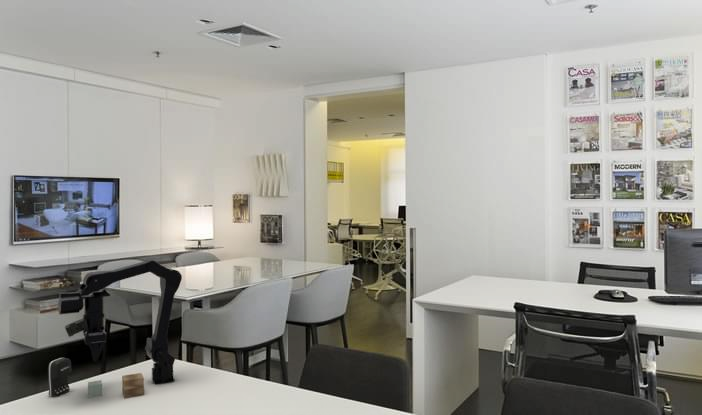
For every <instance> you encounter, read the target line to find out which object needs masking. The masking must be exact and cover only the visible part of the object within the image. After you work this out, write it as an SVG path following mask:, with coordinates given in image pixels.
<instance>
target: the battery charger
mask: <svg viewBox="0 0 702 415" xmlns="http://www.w3.org/2000/svg"><path fill="white" fill-rule="evenodd" d="M47 366H48V367H47V381H48V382H47V383H48V396H49V397H59V396H61V395H63V394H66V393H68V392H69V391H70V386H69V382H68V381H69V379H68V376H69V374H71V373H72V361H71V359H70V358H67V357H59V358H56V359H54V360H52V361H49V363H48V365H47Z"/></svg>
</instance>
